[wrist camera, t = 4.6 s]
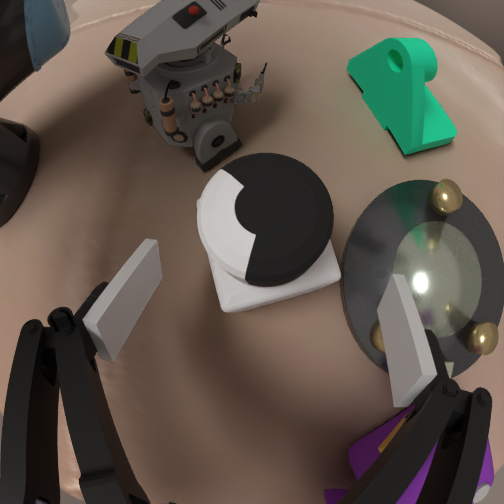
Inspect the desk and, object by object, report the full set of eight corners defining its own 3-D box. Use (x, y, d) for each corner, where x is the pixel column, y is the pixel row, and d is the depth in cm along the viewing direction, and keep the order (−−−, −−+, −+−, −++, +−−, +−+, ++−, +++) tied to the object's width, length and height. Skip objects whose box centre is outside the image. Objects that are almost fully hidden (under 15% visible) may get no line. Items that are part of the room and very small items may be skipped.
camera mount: (449, 146, 25) (496, 93, 15) (400, 160, 25) (447, 97, 15) (394, 69, 28) (419, 10, 17) (344, 75, 27) (362, 6, 17)
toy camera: (294, 473, 20) (303, 544, 10) (415, 375, 21) (484, 401, 11) (355, 523, 18) (379, 582, 8) (459, 438, 19) (517, 471, 9)
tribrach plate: (324, 377, 21) (333, 388, 18) (346, 170, 25) (356, 150, 21) (486, 376, 20) (507, 380, 16) (492, 206, 23) (511, 195, 20)
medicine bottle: (296, 206, 24) (316, 121, 13) (322, 288, 23) (372, 265, 11) (215, 229, 24) (168, 159, 13) (236, 313, 23) (201, 315, 11)
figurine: (289, 118, 26) (296, -14, 12) (191, 184, 25) (120, 64, 11) (234, 72, 28) (215, -41, 13) (147, 127, 27) (81, 23, 13)
